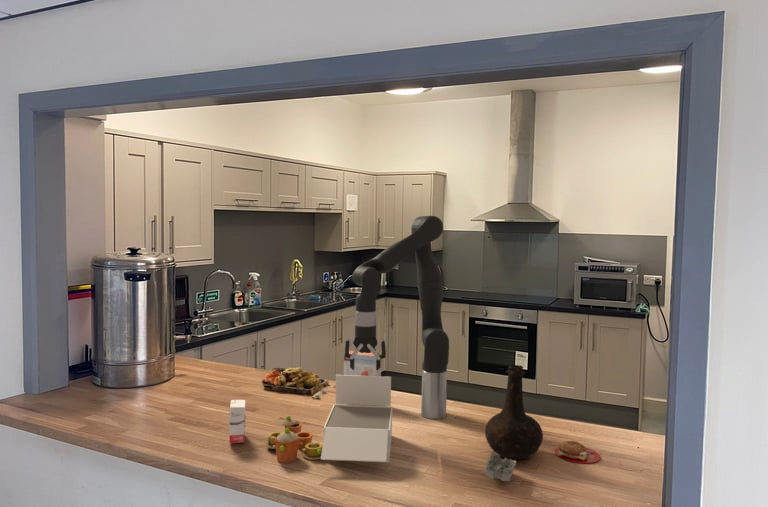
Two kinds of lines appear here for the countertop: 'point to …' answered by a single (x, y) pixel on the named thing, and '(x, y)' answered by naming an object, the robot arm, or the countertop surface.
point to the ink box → (237, 421)
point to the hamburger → (576, 452)
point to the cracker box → (362, 366)
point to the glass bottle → (514, 423)
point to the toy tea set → (293, 442)
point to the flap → (363, 389)
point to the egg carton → (499, 467)
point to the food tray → (295, 382)
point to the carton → (358, 433)
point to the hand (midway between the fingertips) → (365, 369)
